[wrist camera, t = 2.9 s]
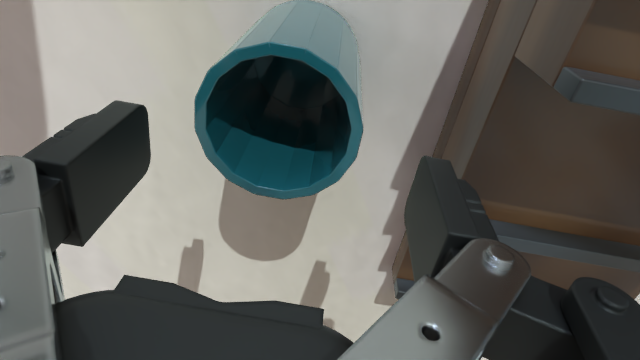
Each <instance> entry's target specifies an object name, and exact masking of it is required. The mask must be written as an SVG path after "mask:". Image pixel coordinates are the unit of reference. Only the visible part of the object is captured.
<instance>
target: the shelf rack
mask: <svg viewBox="0 0 640 360" xmlns="http://www.w3.org/2000/svg"><path fill="white" fill-rule="evenodd" d="M433 157H434V158H439V159H445V160H450V162H451V164H452V166H453V169H454V171H455V174H456V176H457V179H462V180H465V181H466V182H467V183H468V184H470V185H471V186H472V187H473V188H474V189H475V190H476V191H477V193H478V196H479V198H480V200H481V202H482V203H481V205H483V207H484V209H485V211H486V214H487V215H488V218H489V220H490V222H491V224H492V226H493V229H494V231H495V233H496V235H497V237H498V240H499V242H502V243H504V244H506V245H508V246H510V247H512V248H513V249H515V250H516V251H517V252H519V253H520V254H521V255H522V256H523V257H524V258H525V259H526V260H527V262H528V263H529V265H530V268H531V275H532V276H534V277H536V278H538V279H540V280H543V281H545V282H548V283H551V284H553V285H556V286H558V287H561V288H563V289H566V290H568V289H569V287H570V286H571V285H572V283H573V282H574V280H576V279H577V278H580V277H592V278H596V279H600V280H603V281H606V282H608V283H610V284H612V285H614V286H616V287H618V288H619V289H621V290H623V291H624V292H625V293H627V294H628V295H630V296H631V297H632V298H633V299H635V298H636V297H637V296H638V294H639V293H640V0H489V2H488V4H487V7H486V10H485V13H484V16H483V18H482V21H481V24H480V27H479V29H478V32H477V35H476V38H475V40H474V43H473V46H472V49H471V51H470V54H469V57H468V60H467V63H466V65H465V68H464V71H463V74H462V76H461V79H460V82H459V85H458V87H457V90H456V93H455V96H454V99H453V101H452V104H451V107H450V110H449V112H448V115H447V118H446V121H445V123H444V126H443V129H442V132H441V135H440V137H439V140H438V143H437V146H436V148H435V151H434V154H433ZM392 272H393V281H394V289H395V298H396V299H400V298H401V297H402V296H403V295H404V294H405V293H406V292H407V291H408V290H409V289H410V288H411V287H412V286H413V285H414V284H415V283H414V276H413V270H412V264H411V258H410V252H409V245H408V239H407V233H406V231H405V234H404V237H403V240H402V242H401V245H400V248H399V251H398V253H397V256H396V259H395V262H394V265H393V267H392Z"/></svg>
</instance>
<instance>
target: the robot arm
mask: <svg viewBox="0 0 640 360" xmlns="http://www.w3.org/2000/svg"><path fill="white" fill-rule="evenodd" d="M150 157H151V152H150V138H149V124H148V113H147V109H146V107H145V106H144V105H140V104H134V103H128V102H123V101H114V102H112V103H111V104H109V105H108V106H107V107H105V108H104V109H102V110H101V111H99V112H98V113H97V114H92V115H89V116H86V117H83V118H80V119H77V120H75V121H74V122H72V123H71V124H69V125H68V126H66V127H65V128H64V130H61V131H59V132H58V133H56V134H55V135H54V137H50V138H49V139H47V140H46V141H44V142H43V143H41V144H40V145H38V146H37V147H36V148H34V149H33V150H31V151H30V152H28V153H27V154H25V155H24V156H22V157H19V156H0V360H481V358H482V357H484V358H487V359H489V360H640V305H639V304H638V303H637V302H636V301H635V300H634V299H633V298H632V297H631V296H630V295H628V294H627V293H625V292H624V291H623V290H621V289H619V288H618V287H616V286H614V285H612V284H610V283H608V282H606V281H603V280H600V279H596V278H592V277H580V278H577V279H576V280H574V282H573V283H572V285H571V286H570V287H569V289H568V290H566V289H563V288H561V287H558V286H556V285H553V284H551V283H548V282H545V281H543V280H540V279H538V278H536V277H534V276H532V275H531V268H530V265H529V263H528V262H527V260H526V259H525V258H524V257H523V256H522V255H521V254H520V253H519V252H517V251H516V250H515V249H513V248H512V247H510V246H508V245H506V244H504V243H502V242H499V240H498V237H497V235H496V233H495V231H494V229H493V226H492V224H491V222H490V220H489V218H488V215H487V214H486V211H485V209H484V207H483V205H481V203H482V202H481V200H480V198H479V196H478V193H477V191H476V190H475V189H474V188H473V187H472V186H471V185H470V184H468V183H467V182H466V181H465V180H462V179H457V176H456V174H455V171H454V169H453V166H452V164H451V162H450V160H445V159H439V158H434V157H428V156H423V157H422V158H421V160H420V163H419V165H418V168H417V171H416V174H415V177H414V180H413V183H412V186H411V189H410V192H409V195H408V199H407V202H406V206H405V214H404V220H405V227H406V233H407V239H408V245H409V252H410V258H411V264H412V270H413V276H414V283H415V284H414V285H413V286H412V287H411V288H410V289H409V290H408V291H407V292H406V293H405V294H404V295H403V296H402V297H401V298H400V299H399V300H398V301H397V302H396V303H395V304H394V305H393V306H392V307H391V308H390V309H389V310H388V311H387V312H385V313H384V314H383V315H382V316H381V317H380V318H379V319H378V320H377V321H376V322H375V323H374V324H373V325H372V326H371V327H370V328H369V329H368V330H367V331H366V332H365V333H364V334H363V335H362V336H361V337H360V338H359V339H358V340H357V341H356V342H355V343H353V342H352V341H351V340H349V339H348V338H346V337H345V336H343V335H342V334H340V333H338V332H337V331H335V330H333V329H331V328H329V327H327V326H324V325H322V324H323V313H324V309H321V308H315V307H309V306H303V305H297V304H291V303H286V302H280V301H254V302H227V303H226V302H218V301H215V300H213V299H210V298H208V297H206V296H203V295H201V294H198V293H196V292H193V291H191V290H189V289H186V288H184V287H181V286H179V285H176V284H174V283H169V282H163V281H157V280H151V279H145V278H139V277H134V276H128V275H124V276H123V278H122V279H121V281H120V282H119V284H118V285H117V287H116V288H115V290H106V291H99V292H92V293H88V294H83V295H79V296H76V297H73V298H69V299H66V300H65V297H64V291H63V285H62V279H61V273H60V267H59V261H58V256H57V252H56V248H57V247H58V246H59V245H60V244H61V243H64V244H70V245H75V246H81V247H83V246H84V245H85V243H86V242H87V241H88V240H89V239H90V238H91V236H92V235H93V234H94V233H95V232H96V231H97V230H98V228H99V227H100V226H101V225H102V224H103V223H104V221H105V220H106V219H107V218H108V217H109V216H110V214H111V213H112V212H113V211H114V210H115V209H116V208H117V206H118V205H119V204H120V203H121V202H122V201H123V199H124V198H125V197H126V196H127V195H128V194H129V193H130V191H131V190H132V189H133V188H134V187H135V186H136V184H137V183H138V182H139V181H140V180H141V179H142V177H143V176H144V175H145V174H146V172H147V170H148V167H149V164H150Z"/></svg>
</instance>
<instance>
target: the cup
mask: <svg viewBox="0 0 640 360" xmlns="http://www.w3.org/2000/svg"><path fill="white" fill-rule="evenodd" d="M195 131H196V134H197V136H198V138H199V141H200V143H201V146H202V148H203V150H204V153H205V155H206V157H207V159H208V160H209V161H210V162H211V163H212V164H213V165H214V166H215V167H216V168H217V169H218V170H219V171H220V172H221V173H222V174H223V176H224V177H225V178H226V179H228V180H229V181H231V182H232V183H234V184H236V185H238V186H240V187H242V188H244V189H245V190H247V191H249V192H251V193H253V194H256V195H261V196H267V197H272V198H278V199H291V198H298V197H305V196H311V195H314V194H316V193H318V192H320V191H321V190H323V189H325V188H327V187H329V186H330V185H332V184H334V183H336V182H337V181H339V180H340V178H341V177H342V176H343V175H344V173H345V172H346V171H347V170H348V168H349V167H350V166H351V164H352V163H353V162H354V161H355V159H356V157H357V154H358V150H359V146H360V142H361V138H362V134H363V110H362V89H361V67H360V57H359V50H358V45H357V40H356V38H355V35H354V33H353V31H352V29H351V27H350V26H349V24H348V23H347V22H346V20H345V19H344V18H343V17H342V16H341V15H340V14H339V13H337V12H336V11H335V10H334V9H332V8H330V7H328V6H327V5H324V4H322V3H319V2H316V1H311V0H293V1H288V2H285V3H282V4H280V5H278V6H275V7H274V8H273V9H271V10H270V11H268V12H267V13H266V14H265V15H264V16H263V17H261V18H260V19H259V20H258V21H257V22H256V23H255V24H254V25H253V26H252V27H251V28H250V29H249V30H248V31H247V32H246V33H245V34H244V35H243V36H242V37H241V38H240V39H239V40H238V41H237V42H236V43H235V44H234V45H233V46H232V47H231V48H230V49H229V50H228V51H227V52H226V53H225V54H224V55H223V56H222V57H221V58H220V59H219V60H218V61H217V62H216V63H215V64H214V65H213V66H212V67H211V68H210V69H209V70H208V71H207V73H206V76H205V78H204V80H203V82H202V84H201V86H200V88H199V90H198V92H197V94H196V96H195Z"/></svg>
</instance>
